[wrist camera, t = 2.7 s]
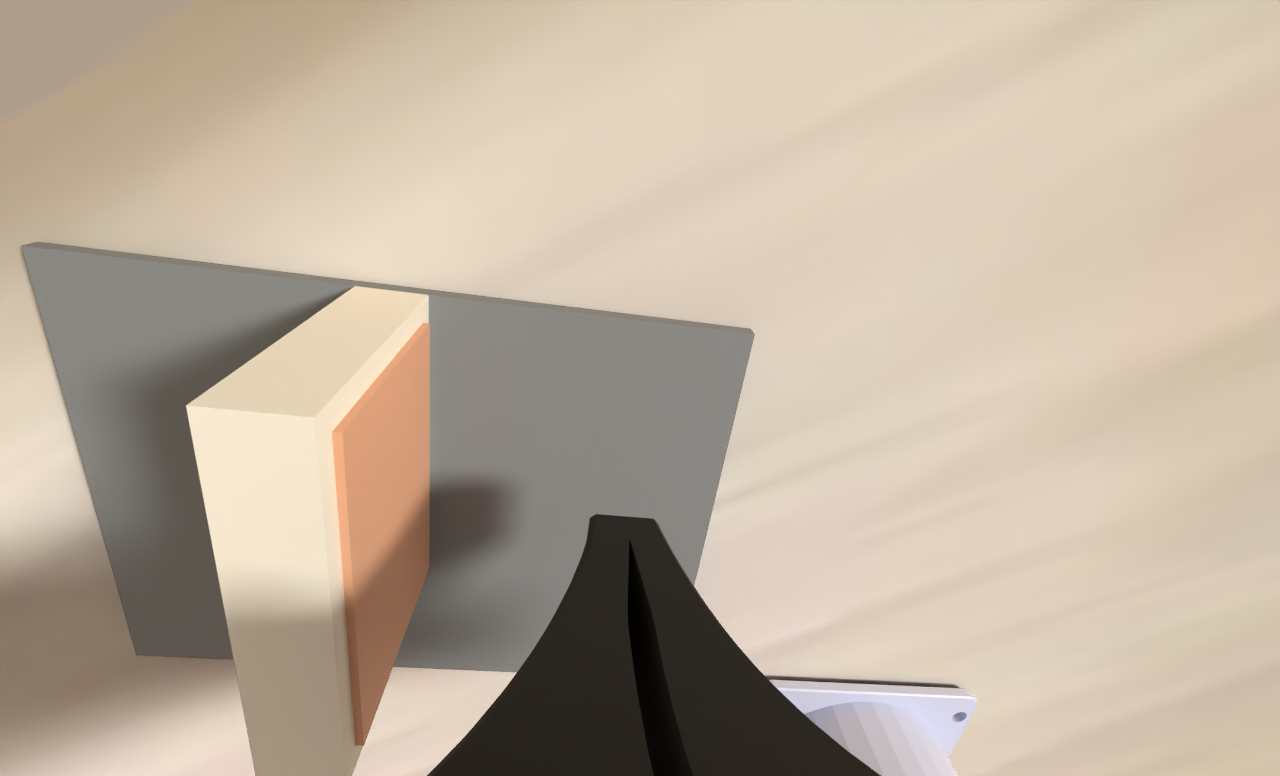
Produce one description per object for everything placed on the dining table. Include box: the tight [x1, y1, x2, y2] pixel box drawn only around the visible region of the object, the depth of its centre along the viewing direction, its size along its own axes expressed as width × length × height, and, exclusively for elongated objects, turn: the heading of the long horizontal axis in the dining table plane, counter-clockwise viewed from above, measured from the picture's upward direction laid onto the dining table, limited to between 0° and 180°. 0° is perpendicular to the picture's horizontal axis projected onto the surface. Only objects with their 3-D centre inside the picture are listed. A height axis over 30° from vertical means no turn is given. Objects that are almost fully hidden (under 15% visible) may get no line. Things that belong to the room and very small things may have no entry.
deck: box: [186, 286, 430, 776], centre depth 12 cm, size 8×2×6 cm, turn 172°
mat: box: [21, 242, 755, 672], centre depth 16 cm, size 12×16×1 cm
